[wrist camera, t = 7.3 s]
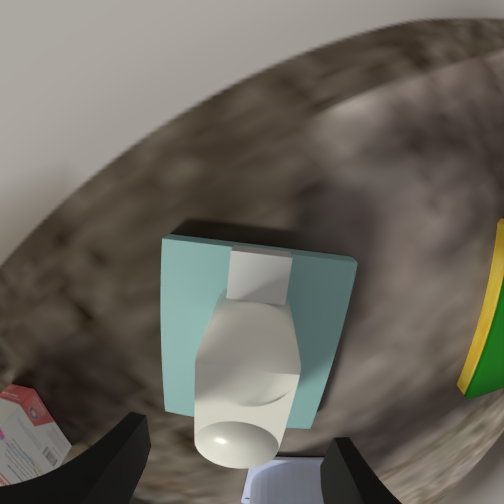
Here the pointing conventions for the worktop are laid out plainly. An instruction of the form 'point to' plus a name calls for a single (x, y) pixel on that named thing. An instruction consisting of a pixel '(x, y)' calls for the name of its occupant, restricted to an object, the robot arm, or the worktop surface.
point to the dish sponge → (488, 333)
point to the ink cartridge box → (27, 437)
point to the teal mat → (204, 299)
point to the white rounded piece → (247, 362)
